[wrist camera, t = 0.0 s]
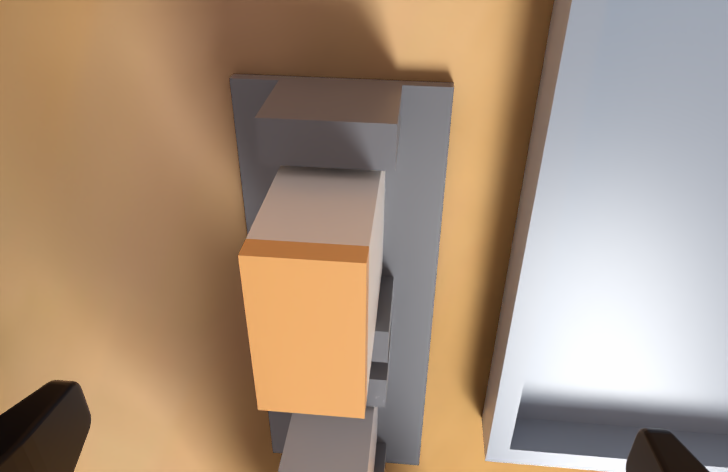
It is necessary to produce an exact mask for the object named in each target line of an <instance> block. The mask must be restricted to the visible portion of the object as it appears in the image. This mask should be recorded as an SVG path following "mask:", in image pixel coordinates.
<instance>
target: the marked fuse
mask: <svg viewBox="0 0 728 472" xmlns="http://www.w3.org/2000/svg"><path fill="white" fill-rule="evenodd" d="M384 199H385V171H376V170H356V169H337V168H317V167H298V166H280V167H279V169H278V172H277V174H276V176H275V178H274V180H273V182H272V184H271V186H270V188H269V191H268V193H267V195H266V197H265V199H264V201H263V203H262V205H261V208H260V210H259V212H258V214H257V216H256V218H255V220H254V222H253V224H252V227H251V229H250V231H249V233H248V235H247V237H246V239H245V241H244V243H243V246H242V248H241V250H240V252H239V254H238V260H239V268H240V276H241V283H242V291H243V299H244V306H245V314H246V322H247V329H248V337H249V345H250V352H251V360H252V368H253V376H254V383H255V391H256V399H257V406H258V410H265V411H277V412H289V413H301V414H313V415H325V416H337V417H349V418H361V419H364V418H365V410H366V402H367V393H368V385H369V376H370V368H371V360H372V351H373V343H374V334H375V326H376V318H377V309H378V301H379V292H380V284H381V275H382V263H383V231H384Z"/></svg>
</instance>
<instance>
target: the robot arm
mask: <svg viewBox="0 0 728 472" xmlns="http://www.w3.org/2000/svg"><path fill="white" fill-rule="evenodd" d="M90 424H91V414H90V411H89V408H88V405H87V403H86V400H85V397H84V394H83V391H82V389H81V386H80V385H79V384H78V383H77V382H74V381H63V380H53V381H51V382H48V383H47V384H45V385H44V386H42V387H41V388H39V389H38V390H36V391H35V392H34V393H32V394H31V395H29V396H28V397H26V398H25V399H23V400H22V401H20V402H19V403H17V404H16V405H15V406H13V407H12V408H10V409H9V410H7V411H6V412H4V413H3V414H1V415H0V472H74V469H75V467H76V464H77V461H78V459H79V456H80V453H81V451H82V448H83V445H84V442H85V440H86V437H87V434H88V432H89V428H90ZM626 472H710V471H709V470H708V469H707V468H706V467H705V466H704V465H703V464H702V463H701V462H700V461H699V460H698V459H697V458H696V457H695V456H694V455H693V454H692V453H691V452H690V451H689V450H688V448H687V447H686V446H685V445H684V444H683V443H682V442H681V441H680V440H679V439H678V438H677V437H676V436H675V435H674V434H673V433H672V432H670V431H669V430H666V429H658V428H641V429H640V430H639V431H638V433H637V435H636V438H635V440H634V443H633V445H632V448H631V450H630V453H629V455H628V458H627V461H626Z"/></svg>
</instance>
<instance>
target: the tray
mask: <svg viewBox="0 0 728 472" xmlns="http://www.w3.org/2000/svg"><path fill="white" fill-rule="evenodd" d="M482 428H483V440H484V451H485V461H491V462H503V463H514V464H526V465H537V466H549V467H561V468H572V469H584V470H595V471H607V472H626V461H627V458H628V455H629V453H630V450H631V448H632V445H633V443H634V440H635V438H636V435H637V433H638V431H639V430H640V429H641V428H658V429H666V430H669V431H670V432H672V433H673V434H674V435H675V436H676V437H677V438H678V439H679V440H680V441H681V442H682V443H683V444H684V445H685V446H686V447H687V448H688V450H689V451H690V452H691V453H692V454H693V455H694V456H695V457H696V458H697V459H698V460H699V461H700V462H701V463H702V464H703V465H704V466H705V467H706V468H707V469H708V470H709V471H710V472H728V0H554V4H553V10H552V16H551V21H550V27H549V33H548V39H547V44H546V50H545V56H544V62H543V68H542V73H541V79H540V85H539V91H538V97H537V102H536V108H535V114H534V120H533V126H532V131H531V137H530V143H529V149H528V154H527V160H526V166H525V172H524V178H523V183H522V189H521V195H520V201H519V207H518V212H517V218H516V224H515V230H514V235H513V241H512V247H511V253H510V259H509V264H508V270H507V276H506V282H505V288H504V293H503V299H502V305H501V311H500V316H499V322H498V328H497V334H496V340H495V345H494V351H493V357H492V363H491V369H490V374H489V380H488V386H487V392H486V398H485V403H484V409H483V415H482Z"/></svg>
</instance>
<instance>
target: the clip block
mask: <svg viewBox="0 0 728 472" xmlns="http://www.w3.org/2000/svg"><path fill="white" fill-rule="evenodd" d="M229 79H230V88H231V96H232V105H233V113H234V122H235V131H236V139H237V148H238V156H239V165H240V173H241V182H242V191H243V199H244V208H245V216H246V225H247V234H248V233H249V231H250V229H251V227H252V224H253V222H254V220H255V218H256V216H257V214H258V212H259V210H260V208H261V205H262V203H263V201H264V199H265V197H266V195H267V193H268V191H269V188H270V186H271V184H272V182H273V180H274V178H275V176H276V174H277V172H278V169H279V167H280V166H298V167H317V168H337V169H356V170H376V171H385V199H384V231H383V263H382V275H381V284H380V292H379V301H378V309H377V318H376V326H375V334H374V343H373V351H372V360H371V368H370V376H369V385H368V393H367V402H366V406H373V407H378V424H377V444H376V454H375V465H374V472H385V463H398V464H409V465H419V458H420V447H421V436H422V425H423V415H424V404H425V393H426V382H427V372H428V361H429V350H430V339H431V329H432V318H433V307H434V296H435V285H436V275H437V264H438V253H439V242H440V232H441V221H442V210H443V199H444V189H445V178H446V167H447V156H448V146H449V135H450V124H451V113H452V103H453V92H454V83H451V82H426V81H400V80H375V79H350V78H325V77H300V76H275V75H250V74H233V75H232V76H231V77H230V78H229ZM268 414H269V422H270V431H271V439H272V448H273V453H283V449H284V445H285V441H286V437H287V433H288V429H289V425H290V421H291V417H292V413H289V412H277V411H268Z"/></svg>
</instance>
